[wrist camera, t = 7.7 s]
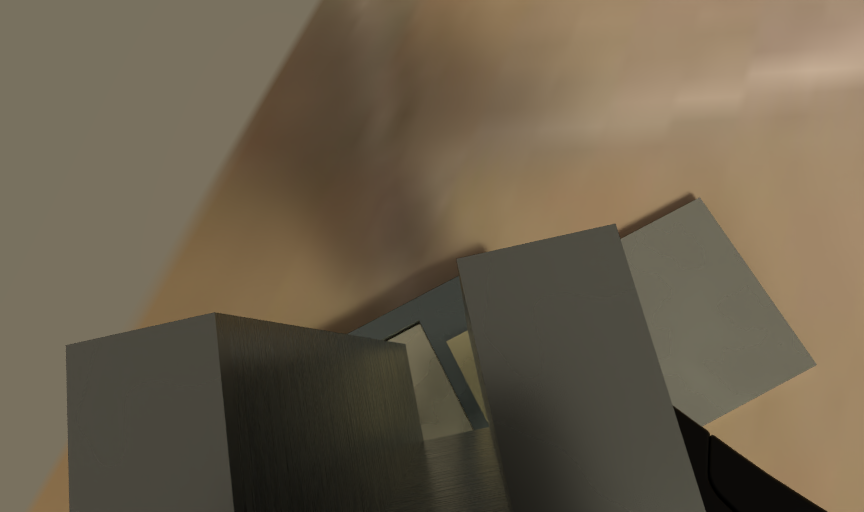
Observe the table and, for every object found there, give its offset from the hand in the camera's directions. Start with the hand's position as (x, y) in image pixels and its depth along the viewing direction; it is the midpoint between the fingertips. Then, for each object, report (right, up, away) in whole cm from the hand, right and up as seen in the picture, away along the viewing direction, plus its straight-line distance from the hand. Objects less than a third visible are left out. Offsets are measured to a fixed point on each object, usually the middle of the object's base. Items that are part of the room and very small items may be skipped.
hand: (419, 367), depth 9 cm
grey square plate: (+12, -1, +13) cm, 17 cm away
